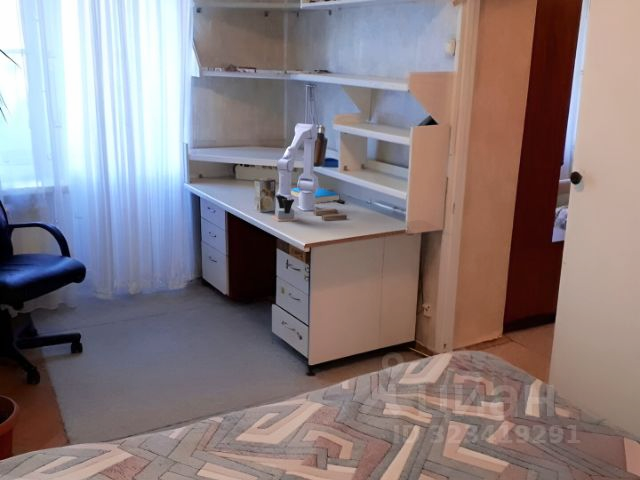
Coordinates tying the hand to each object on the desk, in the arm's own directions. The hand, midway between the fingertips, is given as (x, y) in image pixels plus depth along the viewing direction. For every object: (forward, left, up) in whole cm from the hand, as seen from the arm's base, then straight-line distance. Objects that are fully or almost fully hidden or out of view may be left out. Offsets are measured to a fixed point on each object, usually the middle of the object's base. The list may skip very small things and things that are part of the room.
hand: (284, 211), depth 322 cm
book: (-42, +32, -4) cm, 53 cm away
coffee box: (-19, -4, -4) cm, 20 cm away
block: (0, 0, -3) cm, 3 cm away
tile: (0, 0, -3) cm, 3 cm away
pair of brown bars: (+2, +23, -3) cm, 23 cm away
